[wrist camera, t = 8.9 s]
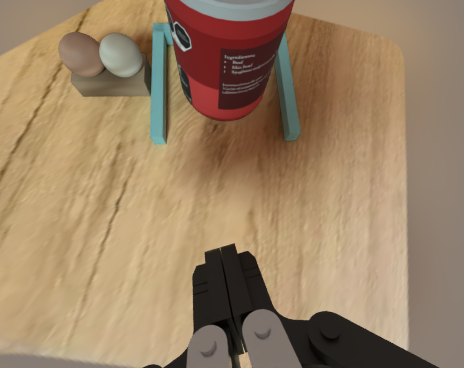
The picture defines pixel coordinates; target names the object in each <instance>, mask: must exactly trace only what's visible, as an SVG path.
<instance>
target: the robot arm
mask: <svg viewBox="0 0 464 368" xmlns="http://www.w3.org/2000/svg"><path fill="white" fill-rule="evenodd" d="M220 249H221V251H220ZM205 262H206V263H205V264H202V265H198V266H196V268H195V271H194V273H193V276H192V280H193V323H194V331H193V336H192V338H191V340H190V342H189V345H188V347H187V349H186V350H185V351H184V352H183V353H182V354H181V355H180V356H179V357H178V358H176V359H175V360H174V361H172V362H171V363H169V364H168V365H167V366H165V367H164V368H241V367H240V362H239V356H238V355H241V354H244V351H243V347H244V349H245V352H248V355H249V358H250V361H251V365H252V368H439V367H437V366H435V365H433V364H431V363H429V362H427V361H425V360H423V359H421V358H419V357H418V356H416V355H414V354H412V353H410V352H408V351H406V350H404V349H402V348H401V347H399V346H397V345H395V344H393V343H391V342H389V341H387V340H385V339H383V338H382V337H380V336H378V335H376V334H374V333H372V332H370V331H368V330H366V329H364V328H363V327H361V326H359V325H357V324H355V323H353V322H351V321H349V320H347V319H345V318H344V317H342V316H340V315H338V314H336V313H333V312H328V311H322V312H318V313H316V314H314V315H313V316H312V317H311V318H310V320H292V319H288V318H286V317H284V316H282V315H280V314H279V313H278V312H277V311H276V310H275V308H274V307H273V304H272V302H271V299H270V296H269V294H268V291H267V288H266V286H265V283H264V280H263V278H262V275H261V272H260V270H259V267H258V264H257V261H256V259H255V257H254V256H253V255H252V254H251V253H250V252H249V251H246V252H242V253H239V254H237V250H236V247H235V243H234V244H230V245H227V246H224V247H220V248H217V249H213V250H210V251H207V252H205ZM242 344H243V346H242ZM143 368H162V367H161V366H159V365H155V364H153V365H148V366H145V367H143Z"/></svg>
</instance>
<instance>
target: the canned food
mask: <svg viewBox="0 0 464 368" xmlns="http://www.w3.org/2000/svg"><path fill="white" fill-rule="evenodd" d="M294 1H295V0H164V2H165V6H166V11H167V16H168V21H169V26H170V31H171V36H172V41H173V46H174V50H175V55H176V60H177V65H178V70H179V75H180V80H181V85H182V88H183V92H184V94H185V96H186V98H187V99H188V101H189V102H190V104H191V105H192V106H193V107H194V108H195V109H196V110H197V111H198V112H200V113H201V114H202V115H204V116H206V117H208V118H211V119H214V120H219V121H233V120H238V119H240V118H243V117H245V116H246V115H248V114H249V113H251V112H252V111H253V110H254V109H255V108H256V107H257V105H258V104H259V103H260V101H261V99H262V96H263V93H264V90H265V88H266V85H267V82H268V79H269V76H270V73H271V70H272V67H273V64H274V61H275V58H276V55H277V52H278V49H279V46H280V43H281V40H282V38H283V35H284V32H285V29H286V26H287V23H288V20H289V17H290V14H291V11H292V7H293V3H294Z"/></svg>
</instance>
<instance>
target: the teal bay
mask: <svg viewBox="0 0 464 368" xmlns="http://www.w3.org/2000/svg"><path fill="white" fill-rule="evenodd" d="M167 45H173V41H172V36H171V31H170V26H169V23H153V44H152V85H151V125H150V137H151V139H152V141H153V142H154V144H166V63H167ZM274 65H275V72H276V79H277V87H278V94H279V101H280V109H281V116H282V123H283V131H284V138H285V141H294V140H296V139H297V137H298V136H299V135H300V134H301V130H300V124H299V117H298V111H297V105H296V98H295V92H294V86H293V79H292V73H291V66H290V60H289V54H288V47H287V41H286V34H285V32H284V35H283V38H282V40H281V43H280V46H279V49H278V52H277V55H276V58H275V61H274Z"/></svg>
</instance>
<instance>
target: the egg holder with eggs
mask: <svg viewBox="0 0 464 368" xmlns="http://www.w3.org/2000/svg"><path fill="white" fill-rule="evenodd" d="M59 55H60V58H61V60H62V62H63V63H64V65H65V66H66V67H67V68H68V69H69V70H70V71H71V72H72V74H71V83H72V84H73V85H74V86H75V87H76V89H77V90H78V91H79V92H80V93H81V94H82V95H83V97H89V96H150V84H151V68H150V66H149V63H148V60H147V57H146V54H145V53H141V51H140V48H139V47H138V45H137V44H136V42H135V41H134V40H133V39H131V38H130V37H129V36H127V35H125V34H121V33H111V34H109V35H107V36H105V37H104V38H103V40H102V41H101V43H100V45H99V43H98V42H97V41H96V40H95V39H93V38H92V37H90V36H89V35H86V34H84V33H80V32H72V33H69V34H66V35H65V36H64V37H63V38H62V39H61V41H60V43H59Z"/></svg>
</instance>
